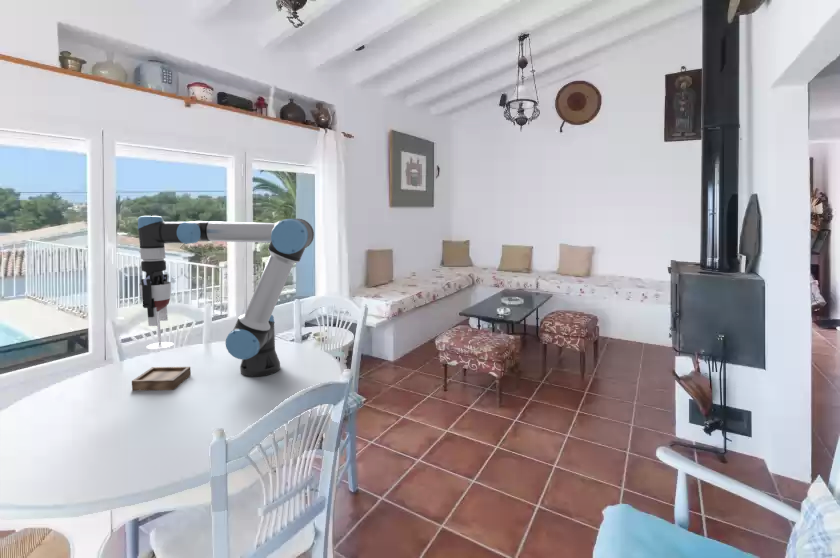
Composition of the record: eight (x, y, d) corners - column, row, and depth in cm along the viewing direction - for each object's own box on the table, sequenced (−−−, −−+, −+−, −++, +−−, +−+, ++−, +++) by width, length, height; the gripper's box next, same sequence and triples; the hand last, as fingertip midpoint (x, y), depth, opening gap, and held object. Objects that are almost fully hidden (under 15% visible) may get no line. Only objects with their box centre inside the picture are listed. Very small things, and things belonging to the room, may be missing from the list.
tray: (190, 375, 169) (190, 366, 169) (173, 389, 156) (173, 380, 155) (152, 375, 168) (152, 367, 168) (132, 390, 154) (131, 381, 154)
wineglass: (162, 350, 154) (157, 286, 151) (138, 348, 156) (132, 284, 153) (181, 342, 163) (176, 282, 160) (158, 340, 165) (153, 280, 162)
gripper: (156, 256, 164) (161, 316, 168) (126, 263, 145) (132, 330, 148) (177, 257, 165) (181, 316, 168) (149, 263, 146) (155, 330, 149)
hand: (158, 322), depth 158 cm, fingers closed on wineglass, 7 cm apart
